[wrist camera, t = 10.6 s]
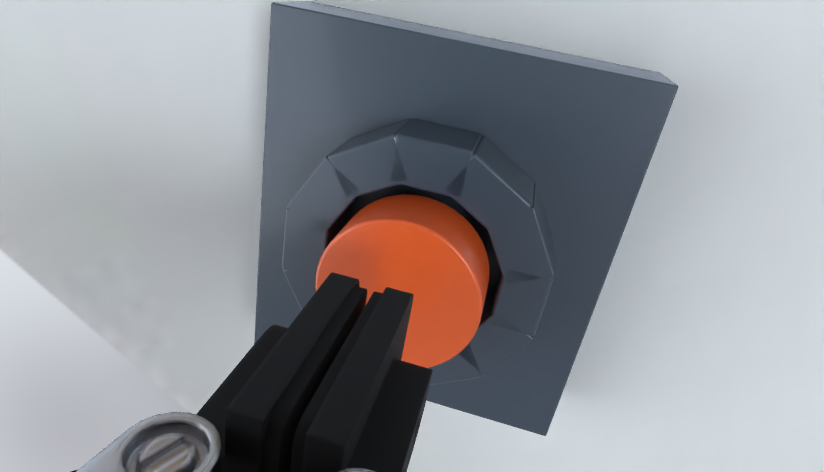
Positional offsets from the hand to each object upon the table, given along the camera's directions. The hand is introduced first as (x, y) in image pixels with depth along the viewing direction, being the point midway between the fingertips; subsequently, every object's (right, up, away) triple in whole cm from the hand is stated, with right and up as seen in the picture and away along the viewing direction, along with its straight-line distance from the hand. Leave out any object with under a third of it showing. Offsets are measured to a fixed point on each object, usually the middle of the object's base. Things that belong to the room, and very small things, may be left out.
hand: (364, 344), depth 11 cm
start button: (+1, +1, +3) cm, 4 cm away
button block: (+2, +3, +7) cm, 7 cm away
